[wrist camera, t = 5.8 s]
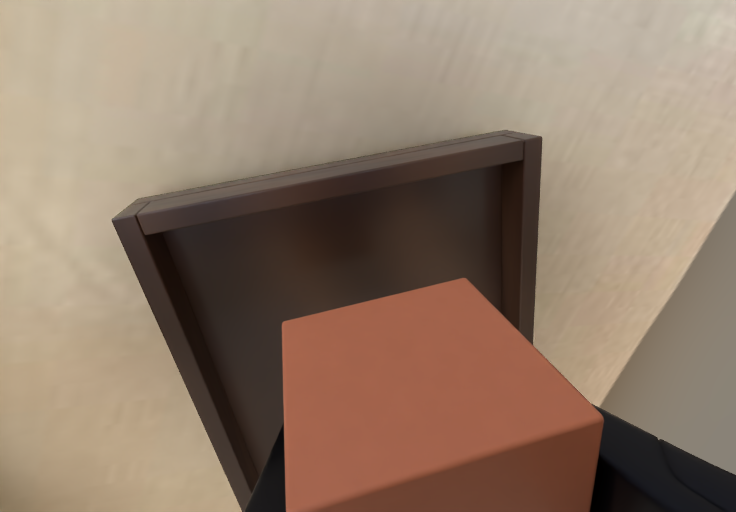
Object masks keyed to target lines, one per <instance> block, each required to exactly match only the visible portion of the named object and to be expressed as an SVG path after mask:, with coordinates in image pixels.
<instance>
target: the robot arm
mask: <svg viewBox="0 0 736 512" xmlns="http://www.w3.org/2000/svg"><path fill="white" fill-rule="evenodd" d="M592 405H593V404H592ZM593 406H594V407H595V408H596V409H597V410H598V411H599V412H600V413H601V414H602V416H603V418H604V424H603V430H602V437H601V443H600V450H599V456H598V463H597V469H596V476H595V482H594V489H593V495H592V501H591V508H590V512H736V475H734V474H732V473H729V472H728V471H725V470H723V469H721V468H719V467H717V466H714V465H712V464H710V463H708V462H706V461H704V460H702V459H700V458H698V457H695V456H694V455H692V454H690V453H688V452H685V451H684V450H682V449H680V448H677V447H676V446H673V445H672V444H670V443H668V442H666V441H664V440H661V439H660V440H658V438H657V437H655V436H654V435H652V434H650V433H648V432H645V431H644V430H642V429H640V428H638V427H636V426H634V425H632V424H630V423H628V422H626V421H624V420H622V419H620V418H618V417H616V416H614V415H612V414H610V413H609V412H607V411H605V410H603V409H601V408H599V407H597V406H595V405H593ZM244 512H286V494H285V450H284V423H283V425H282V427H281V430H280V432H279V434H278V436H277V438H276V441H275V443H274V445H273V447H272V450H271V452H270V454H269V456H268V459H267V461H266V463H265V465H264V468H263V470H262V472H261V474H260V477H259V479H258V481H257V483H256V486H255V488H254V490H253V492H252V494H251V497H250V499H249V501H248V503H247V506H246V508H245V510H244Z"/></svg>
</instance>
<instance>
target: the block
mask: <svg viewBox="0 0 736 512" xmlns="http://www.w3.org/2000/svg"><path fill="white" fill-rule="evenodd" d="M282 360H283V405H284V450H285V494H286V512H590V508H591V501H592V495H593V489H594V482H595V476H596V469H597V463H598V456H599V450H600V443H601V437H602V430H603V424H604V418H603V416H602V414H601V413H600V412H599V411H598V410H597V409H596V408H595V407H594V406H593V405H592V404H591V403H590V402H589V401H588V400H587V399H586V398H585V397H584V396H583V395H582V394H581V393H580V392H579V391H578V390H577V389H576V388H575V387H574V386H573V385H572V384H571V383H570V382H569V381H568V380H567V379H566V378H565V377H564V376H563V375H562V374H561V373H560V372H559V371H558V370H557V369H556V368H555V367H554V366H553V365H552V364H551V363H550V362H549V361H548V360H547V359H546V358H545V357H544V356H543V355H542V354H541V353H540V352H539V351H538V350H537V349H536V348H535V347H534V346H533V345H532V344H531V343H530V342H529V341H528V340H527V339H526V338H525V337H524V336H523V335H522V334H521V333H520V332H519V331H518V330H517V329H516V328H515V327H514V326H513V325H512V324H511V323H510V322H509V321H508V320H507V319H506V318H505V317H504V316H503V315H502V314H501V313H500V312H499V311H498V310H497V309H496V308H495V307H494V306H493V305H492V304H491V303H490V302H489V301H488V300H487V299H486V298H485V297H484V296H483V295H482V294H481V293H480V292H479V291H478V290H477V289H476V288H475V287H474V286H473V285H472V284H471V283H470V282H469V281H468V280H467V279H466V278H461V279H456V280H452V281H448V282H444V283H440V284H436V285H432V286H428V287H424V288H419V289H415V290H411V291H407V292H403V293H399V294H395V295H391V296H387V297H382V298H378V299H374V300H370V301H366V302H362V303H358V304H354V305H350V306H345V307H341V308H337V309H333V310H329V311H325V312H321V313H317V314H313V315H308V316H304V317H300V318H296V319H292V320H288V321H284V322H283V323H282Z"/></svg>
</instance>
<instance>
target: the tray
mask: <svg viewBox="0 0 736 512" xmlns="http://www.w3.org/2000/svg"><path fill="white" fill-rule="evenodd" d="M541 156H542V137H541V136H536V135H530V134H525V133H520V132H514V131H508V130H502V131H497V132H492V133H486V134H481V135H476V136H470V137H465V138H460V139H454V140H449V141H444V142H438V143H433V144H428V145H422V146H417V147H412V148H406V149H401V150H396V151H390V152H385V153H380V154H374V155H369V156H363V157H358V158H353V159H347V160H342V161H337V162H331V163H326V164H321V165H315V166H310V167H305V168H299V169H294V170H289V171H283V172H278V173H273V174H267V175H262V176H257V177H251V178H246V179H241V180H235V181H230V182H225V183H219V184H214V185H209V186H203V187H198V188H193V189H187V190H182V191H177V192H171V193H166V194H161V195H155V196H150V197H145V198H139V199H137V200H136V201H135V202H133V203H132V204H131V205H130V206H128V207H127V208H125V209H124V210H123V211H122V212H120V213H119V214H118V215H117V216H115V217H114V218H113V219H112V223H113V225H114V227H115V229H116V231H117V234H118V236H119V238H120V240H121V243H122V245H123V247H124V249H125V251H126V254H127V256H128V258H129V260H130V263H131V265H132V267H133V269H134V271H135V274H136V276H137V278H138V280H139V283H140V285H141V287H142V289H143V292H144V294H145V296H146V298H147V300H148V303H149V305H150V307H151V309H152V312H153V314H154V316H155V318H156V320H157V323H158V325H159V327H160V329H161V332H162V334H163V336H164V338H165V340H166V343H167V345H168V347H169V349H170V352H171V354H172V356H173V358H174V361H175V363H176V365H177V367H178V369H179V372H180V374H181V376H182V378H183V381H184V383H185V385H186V387H187V389H188V392H189V394H190V396H191V398H192V401H193V403H194V405H195V407H196V409H197V412H198V414H199V416H200V418H201V421H202V423H203V425H204V427H205V430H206V432H207V434H208V436H209V438H210V441H211V443H212V445H213V447H214V450H215V452H216V454H217V456H218V458H219V461H220V463H221V465H222V467H223V470H224V472H225V474H226V476H227V478H228V481H229V483H230V485H231V487H232V490H233V492H234V494H235V496H236V498H237V501H238V503H239V505H240V507H241V510H242V512H244V510H245V508H246V506H247V503H248V501H249V499H250V497H251V494H252V492H253V490H254V488H255V486H256V483H257V481H258V479H259V477H260V474H261V472H262V470H263V468H264V465H265V463H266V461H267V459H268V456H269V454H270V452H271V450H272V447H273V445H274V443H275V441H276V438H277V436H278V434H279V432H280V430H281V427H282V425H283V423H284V405H283V360H282V323H283V322H284V321H288V320H292V319H296V318H300V317H304V316H308V315H313V314H317V313H321V312H325V311H329V310H333V309H337V308H341V307H345V306H350V305H354V304H358V303H362V302H366V301H370V300H374V299H378V298H382V297H387V296H391V295H395V294H399V293H403V292H407V291H411V290H415V289H419V288H424V287H428V286H432V285H436V284H440V283H444V282H448V281H452V280H456V279H461V278H466V279H467V280H468V281H469V282H470V283H471V284H472V285H473V286H474V287H475V288H476V289H477V290H478V291H479V292H480V293H481V294H482V295H483V296H484V297H485V298H486V299H487V300H488V301H489V302H490V303H491V304H492V305H493V306H494V307H495V308H496V309H497V310H498V311H499V312H500V313H501V314H502V315H503V316H504V317H505V318H506V319H507V320H508V321H509V322H510V323H511V324H512V325H513V326H514V327H515V328H516V329H517V330H518V331H519V332H520V333H521V334H522V335H523V336H524V337H525V338H526V339H527V340H528V341H529V342H530V343H531V344H532V345H533V329H534V307H535V285H536V264H537V242H538V221H539V199H540V177H541Z"/></svg>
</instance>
